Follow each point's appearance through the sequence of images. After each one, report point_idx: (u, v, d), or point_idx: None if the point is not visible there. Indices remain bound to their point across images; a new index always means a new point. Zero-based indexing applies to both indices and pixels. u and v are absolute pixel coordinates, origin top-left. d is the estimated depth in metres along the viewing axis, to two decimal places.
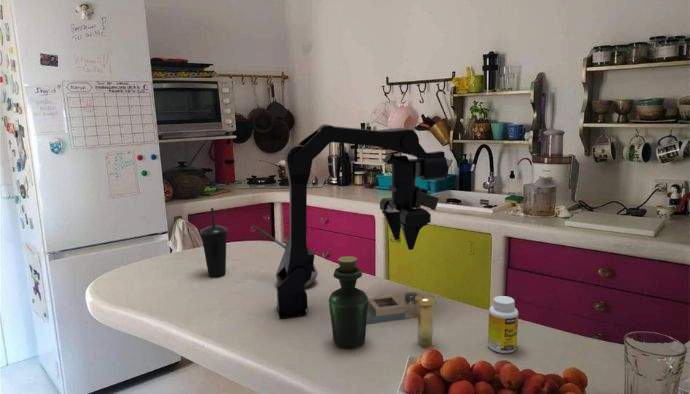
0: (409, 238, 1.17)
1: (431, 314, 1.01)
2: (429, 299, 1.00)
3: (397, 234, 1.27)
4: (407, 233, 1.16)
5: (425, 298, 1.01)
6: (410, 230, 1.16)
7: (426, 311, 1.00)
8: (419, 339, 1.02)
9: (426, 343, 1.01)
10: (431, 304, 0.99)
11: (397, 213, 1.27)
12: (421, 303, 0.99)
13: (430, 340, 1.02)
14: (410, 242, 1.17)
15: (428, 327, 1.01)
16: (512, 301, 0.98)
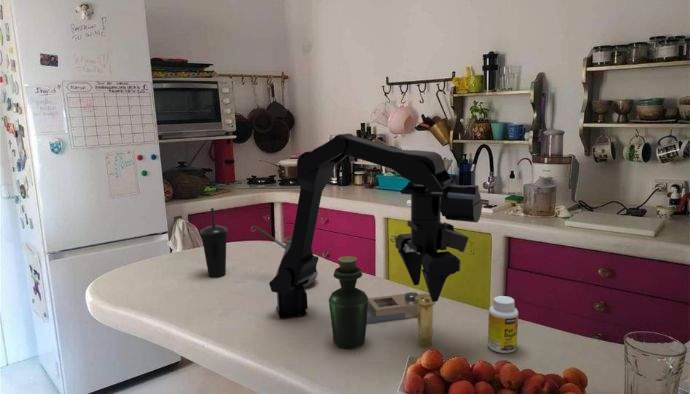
0: (433, 288, 0.95)
1: (431, 314, 1.01)
2: (429, 299, 1.00)
3: (417, 278, 1.05)
4: (431, 283, 0.94)
5: (425, 298, 1.01)
6: (434, 279, 0.94)
7: (426, 311, 1.00)
8: (419, 339, 1.02)
9: (426, 343, 1.01)
10: (431, 304, 0.99)
11: (417, 253, 1.05)
12: (421, 303, 0.99)
13: (430, 340, 1.02)
14: (434, 293, 0.95)
15: (428, 327, 1.01)
16: (512, 301, 0.98)
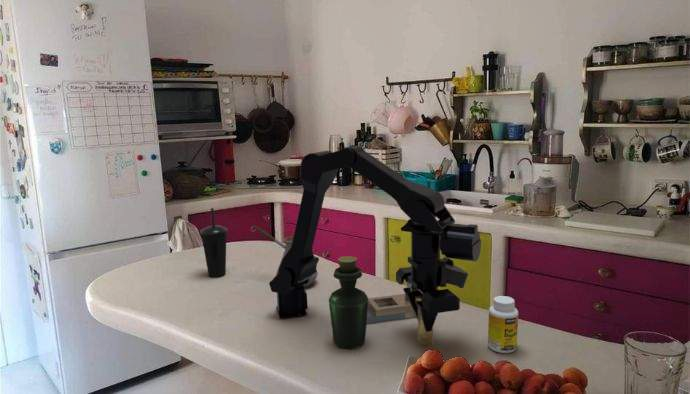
0: (427, 319, 0.99)
1: None
2: None
3: None
4: (424, 314, 0.98)
5: None
6: (428, 310, 0.98)
7: None
8: (419, 339, 1.02)
9: (426, 343, 1.01)
10: None
11: None
12: None
13: (430, 340, 1.01)
14: (428, 323, 0.99)
15: None
16: (512, 301, 0.98)
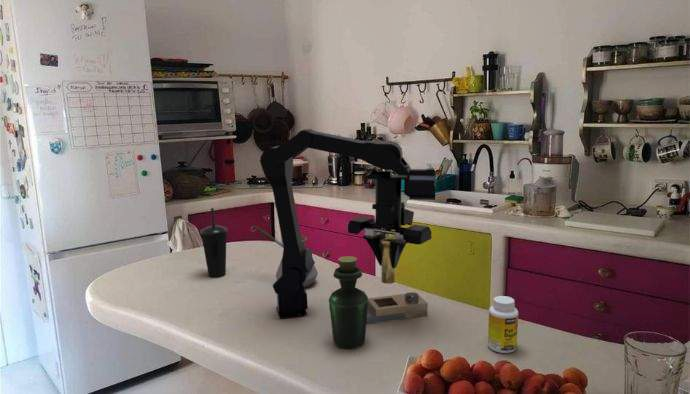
0: (397, 256, 1.11)
1: None
2: (393, 239, 1.12)
3: None
4: (397, 251, 1.10)
5: (389, 239, 1.12)
6: (398, 247, 1.11)
7: None
8: (386, 277, 1.13)
9: (392, 279, 1.13)
10: None
11: (380, 236, 1.14)
12: None
13: (394, 276, 1.14)
14: (396, 260, 1.12)
15: None
16: (512, 301, 0.98)
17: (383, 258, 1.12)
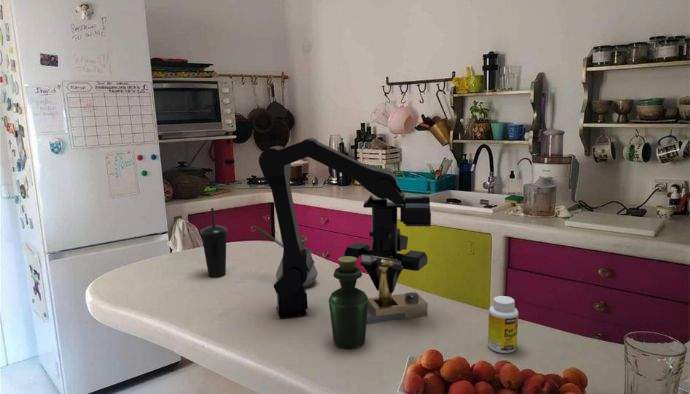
0: (394, 281, 1.14)
1: None
2: (390, 264, 1.15)
3: None
4: (394, 277, 1.13)
5: (386, 264, 1.15)
6: None
7: None
8: (384, 302, 1.15)
9: (390, 303, 1.16)
10: None
11: (377, 262, 1.16)
12: None
13: (391, 300, 1.17)
14: (393, 285, 1.14)
15: None
16: (512, 301, 0.98)
17: (380, 283, 1.15)
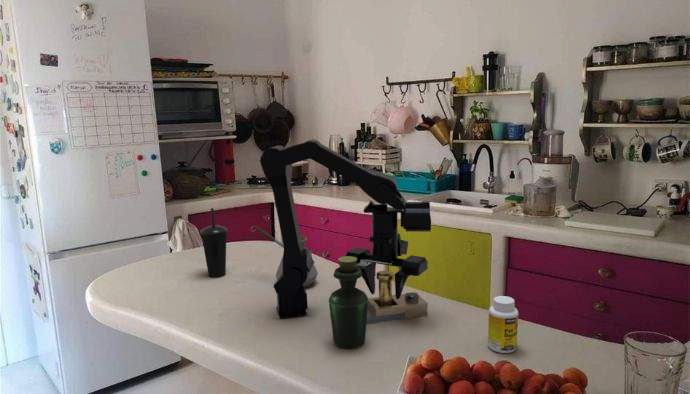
0: (400, 287, 1.13)
1: (391, 286, 1.16)
2: (390, 273, 1.15)
3: (373, 288, 1.18)
4: (401, 283, 1.12)
5: (386, 273, 1.15)
6: (401, 279, 1.13)
7: (390, 284, 1.15)
8: None
9: None
10: (393, 277, 1.15)
11: (371, 266, 1.17)
12: (388, 278, 1.14)
13: None
14: (400, 291, 1.14)
15: (391, 298, 1.16)
16: (512, 301, 0.98)
17: (381, 292, 1.15)
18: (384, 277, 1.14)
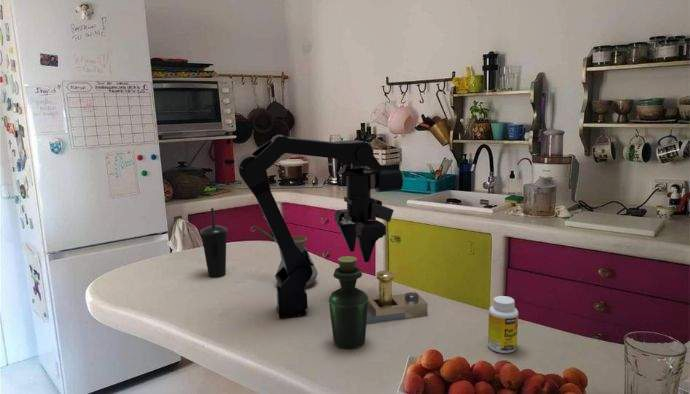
0: (365, 250, 1.16)
1: (391, 286, 1.16)
2: (390, 273, 1.15)
3: (352, 246, 1.26)
4: (363, 246, 1.16)
5: (386, 273, 1.15)
6: (366, 242, 1.16)
7: (390, 284, 1.15)
8: None
9: None
10: (393, 277, 1.15)
11: (352, 225, 1.26)
12: (388, 278, 1.14)
13: None
14: (366, 254, 1.17)
15: (391, 298, 1.16)
16: (512, 301, 0.98)
17: (381, 292, 1.15)
18: (384, 277, 1.14)
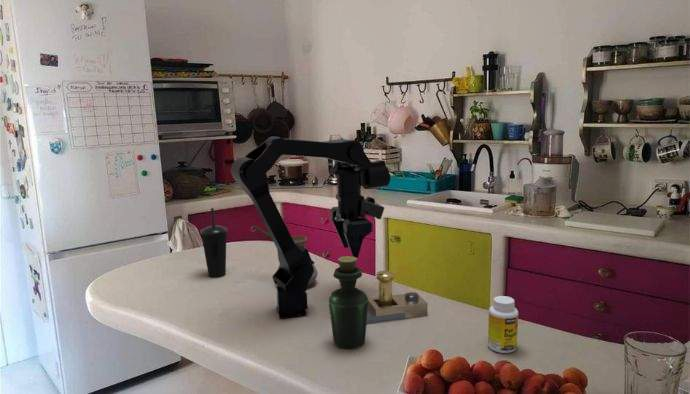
0: (353, 247, 1.19)
1: (391, 286, 1.16)
2: (390, 273, 1.15)
3: (346, 242, 1.29)
4: (351, 242, 1.18)
5: (386, 273, 1.15)
6: (354, 239, 1.19)
7: (390, 284, 1.15)
8: None
9: None
10: (393, 277, 1.15)
11: None
12: (388, 278, 1.14)
13: None
14: (354, 251, 1.20)
15: (391, 298, 1.16)
16: (512, 301, 0.98)
17: (381, 292, 1.15)
18: (384, 277, 1.14)
